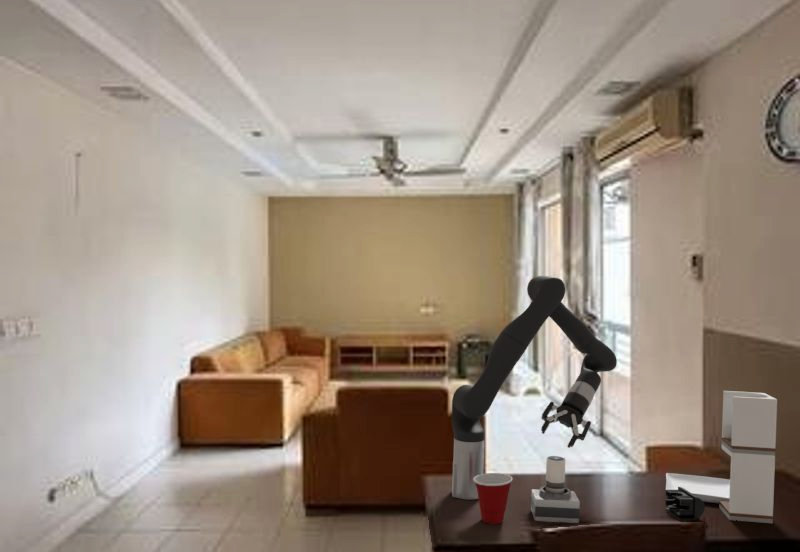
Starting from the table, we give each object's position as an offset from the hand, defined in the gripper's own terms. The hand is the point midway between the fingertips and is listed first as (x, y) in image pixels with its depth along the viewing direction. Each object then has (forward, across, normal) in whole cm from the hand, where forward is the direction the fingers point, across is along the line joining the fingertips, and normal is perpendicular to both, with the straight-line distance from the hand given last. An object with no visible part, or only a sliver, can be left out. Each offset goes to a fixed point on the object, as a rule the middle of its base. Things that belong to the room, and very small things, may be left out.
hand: (555, 439), depth 219 cm
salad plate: (-18, +45, +22) cm, 53 cm away
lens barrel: (+18, +8, -5) cm, 20 cm away
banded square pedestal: (+22, +10, -1) cm, 24 cm away
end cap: (0, +41, +5) cm, 41 cm away
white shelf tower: (-11, +56, +7) cm, 57 cm away
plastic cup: (+34, -4, -6) cm, 35 cm away
